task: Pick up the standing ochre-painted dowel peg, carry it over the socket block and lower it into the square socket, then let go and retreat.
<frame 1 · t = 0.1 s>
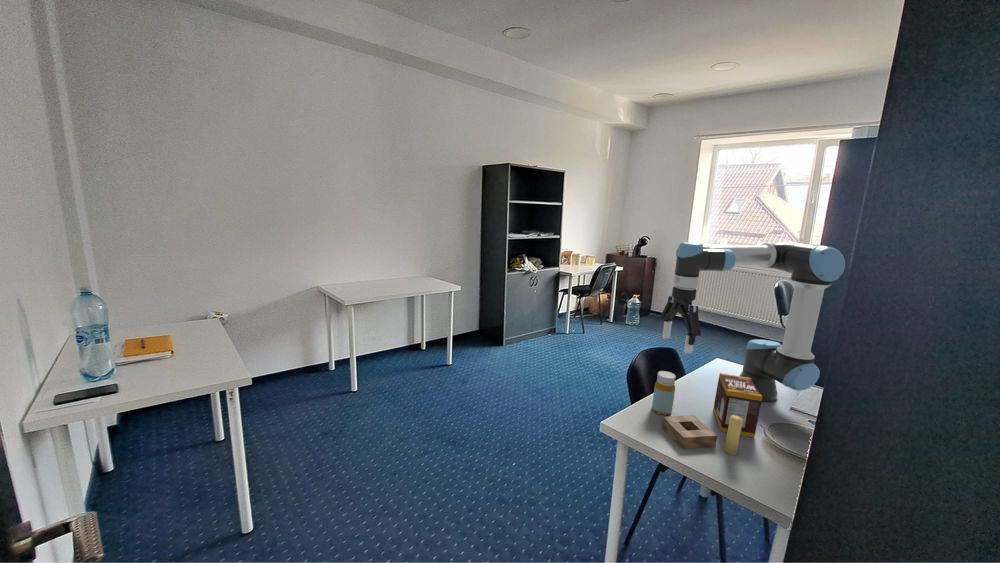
hand: (676, 345, 137), 28 cm above the table, fingers open, 13 cm apart
peg: (730, 451, 124), on the table
supplement box: (732, 423, 141), on the table
bottle: (661, 411, 147), on the table
socket block: (687, 436, 131), on the table
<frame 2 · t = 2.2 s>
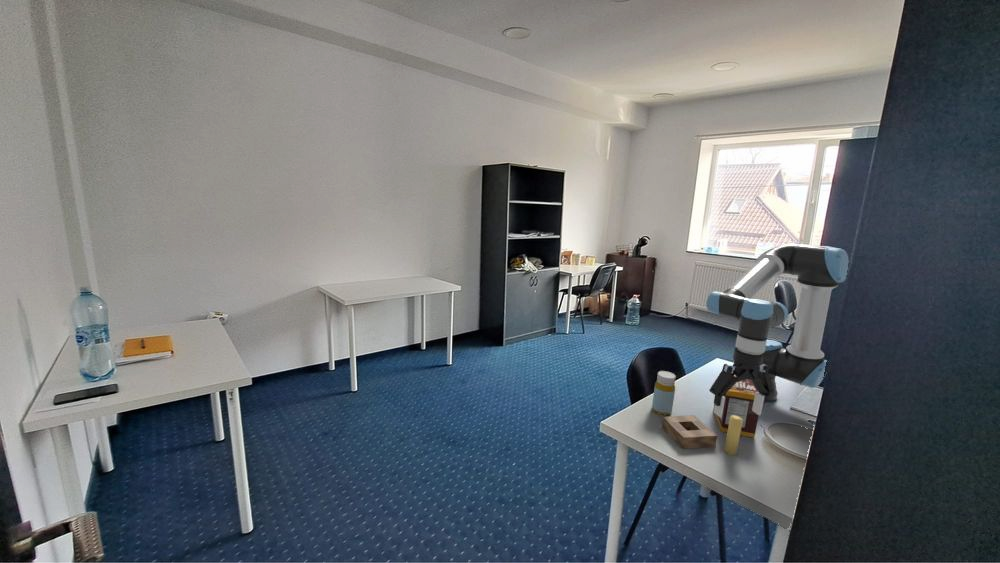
hand: (737, 413, 121), 14 cm above the table, fingers open, 13 cm apart
nothing on the table moved.
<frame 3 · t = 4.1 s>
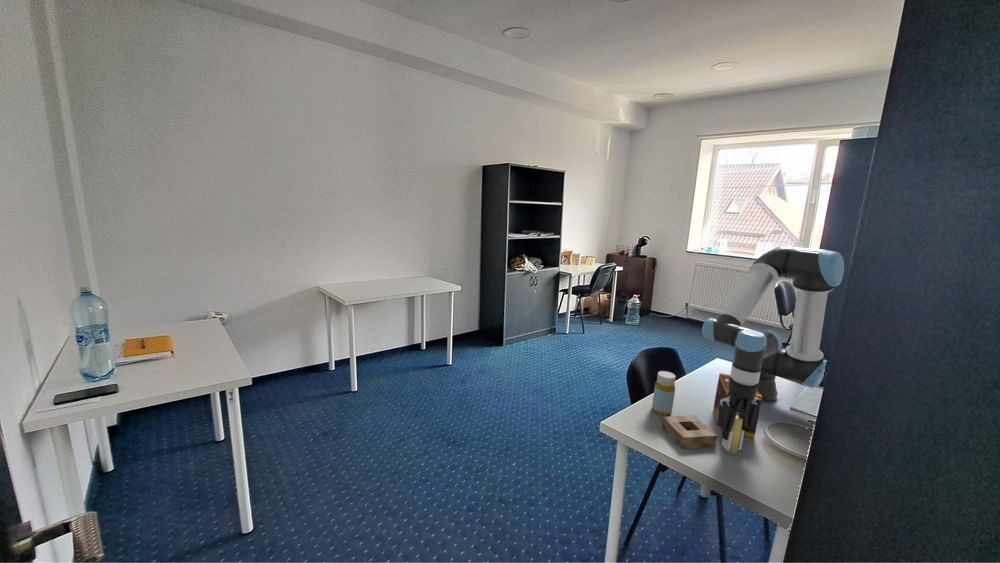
hand: (731, 447, 124), 2 cm above the table, fingers closed on peg, 3 cm apart
peg: (730, 451, 124), on the table, touching gripper
everything else where it was.
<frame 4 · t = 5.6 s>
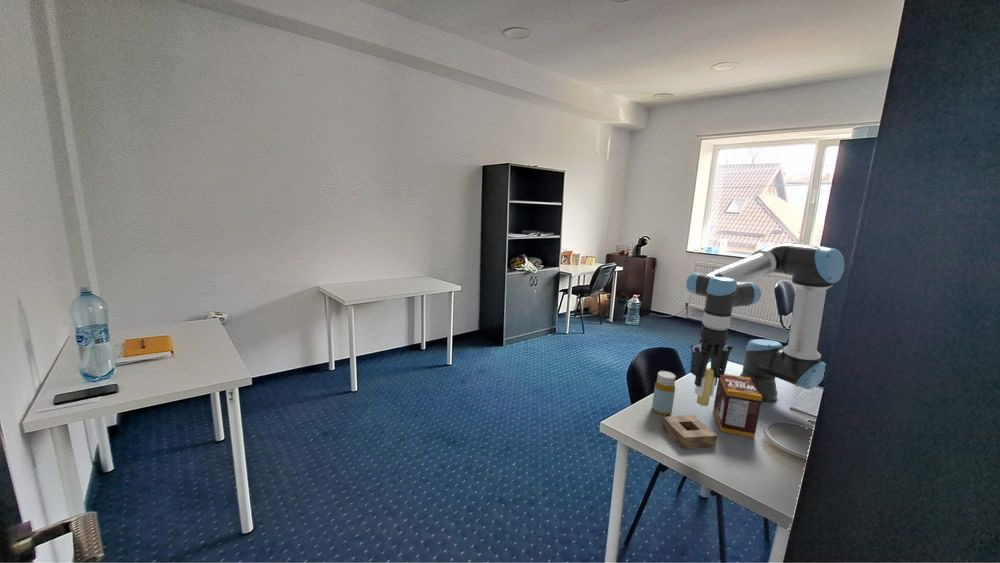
hand: (703, 394, 126), 17 cm above the table, fingers closed on peg, 3 cm apart
peg: (702, 403, 127), point 14 cm above the table, touching gripper
everything else where it was.
when the fingers open (5 cm above the table, at t = 7.6 s): peg stays where it is, resting in socket block.
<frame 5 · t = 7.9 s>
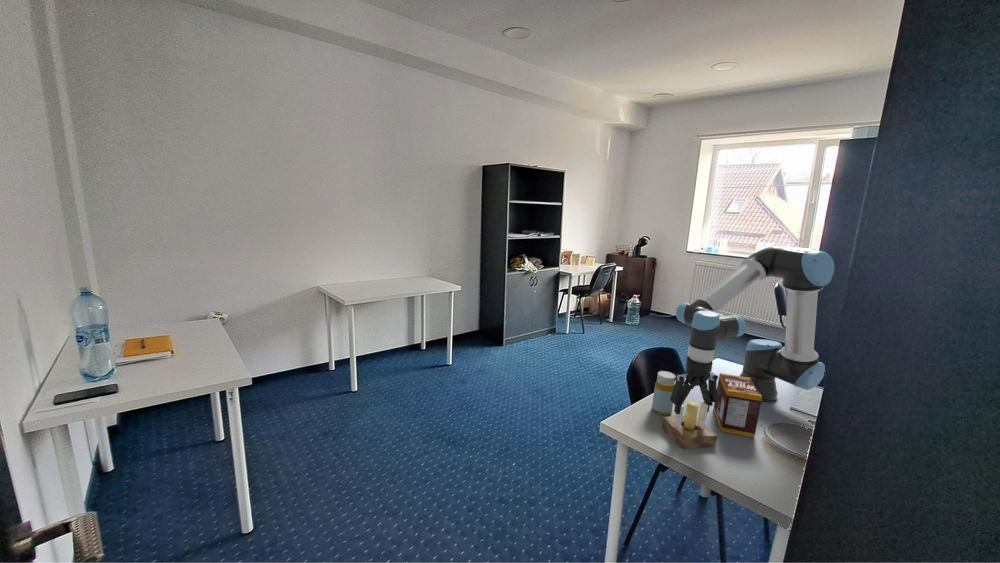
hand: (689, 421, 130), 6 cm above the table, fingers open, 8 cm apart
peg: (687, 436, 131), resting in socket block
everything else where it was.
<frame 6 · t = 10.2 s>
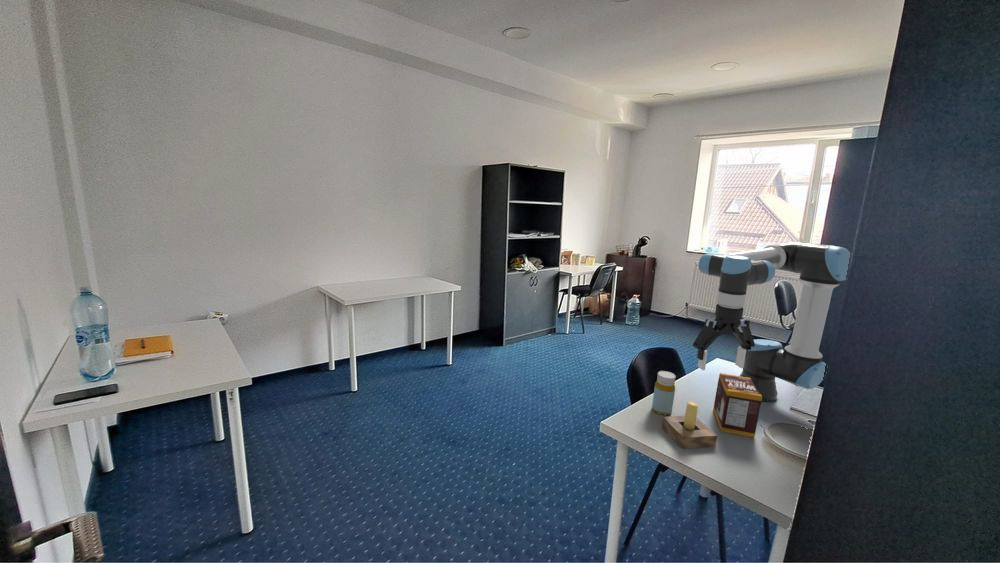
hand: (720, 367, 126), 25 cm above the table, fingers open, 13 cm apart
nothing on the table moved.
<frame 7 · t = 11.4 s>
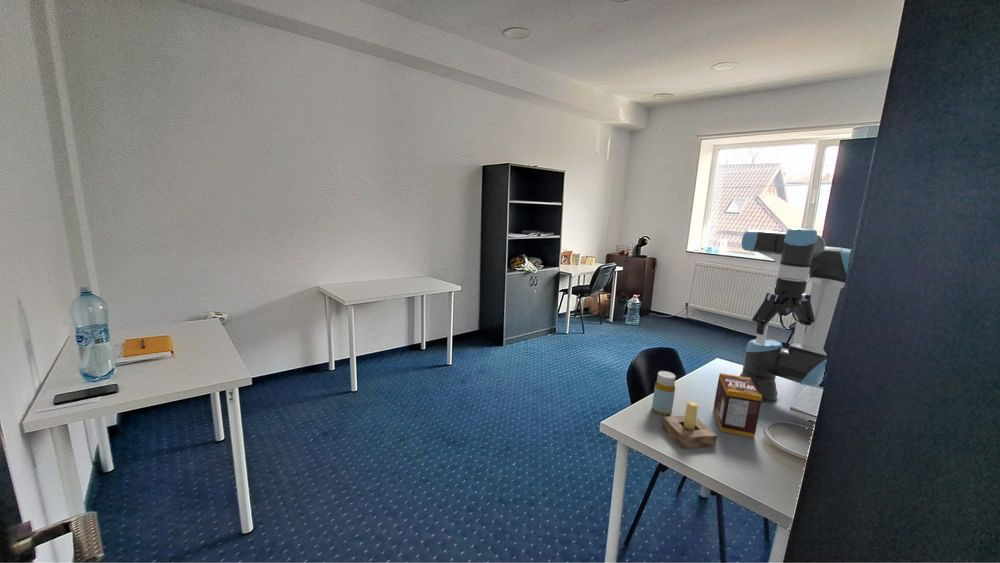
hand: (778, 343, 124), 35 cm above the table, fingers open, 13 cm apart
nothing on the table moved.
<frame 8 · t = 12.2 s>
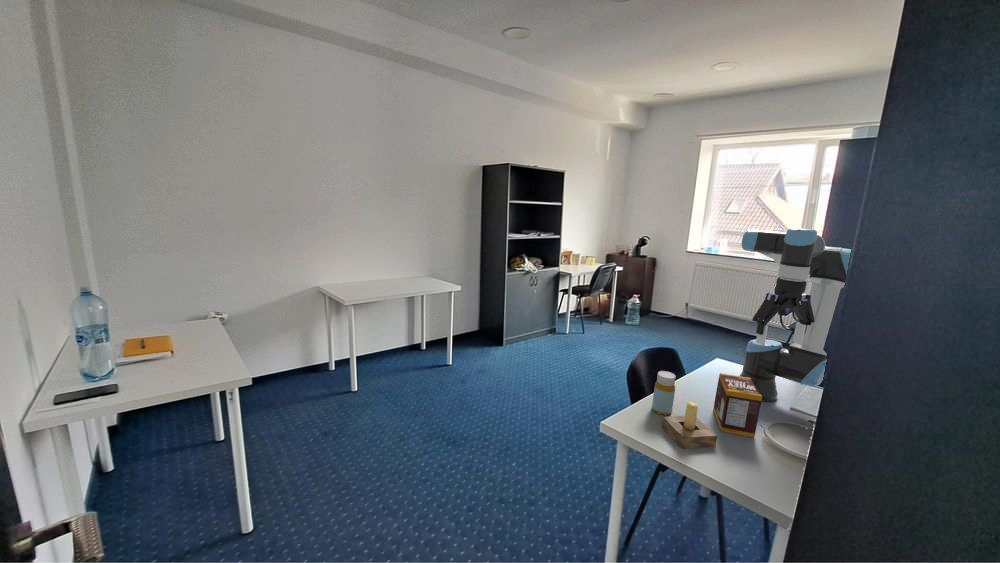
hand: (778, 343, 124), 35 cm above the table, fingers open, 13 cm apart
nothing on the table moved.
at the end: peg 0.0 cm off-centre on the socket block, point 0.0 cm above the socket block's base; peg tilted 0°; the gripper is holding nothing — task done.
